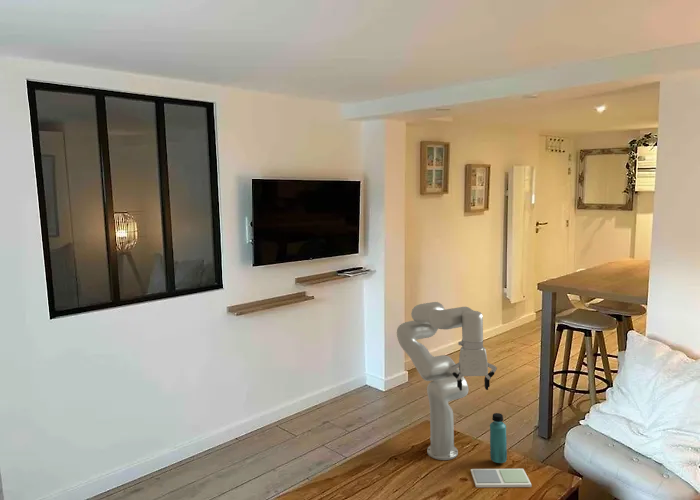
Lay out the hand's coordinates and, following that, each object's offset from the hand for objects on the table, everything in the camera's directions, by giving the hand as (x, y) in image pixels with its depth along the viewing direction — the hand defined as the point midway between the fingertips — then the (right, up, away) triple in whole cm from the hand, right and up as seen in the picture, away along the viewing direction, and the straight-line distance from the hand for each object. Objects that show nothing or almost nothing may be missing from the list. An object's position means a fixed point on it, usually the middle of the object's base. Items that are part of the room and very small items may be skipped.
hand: (473, 389), depth 194 cm
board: (+10, -34, +1) cm, 36 cm away
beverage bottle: (+13, -33, +13) cm, 37 cm away
